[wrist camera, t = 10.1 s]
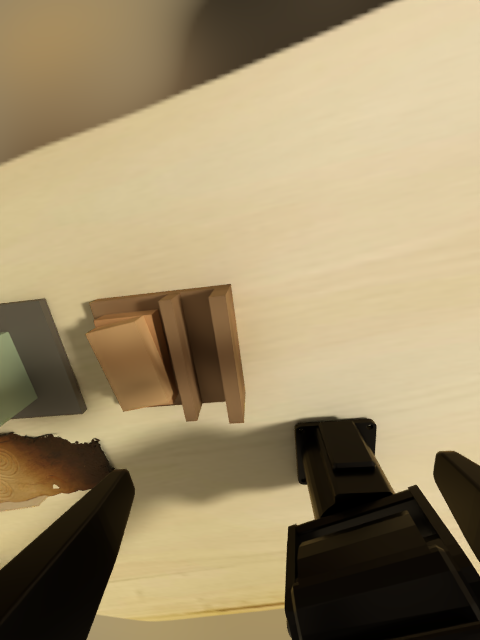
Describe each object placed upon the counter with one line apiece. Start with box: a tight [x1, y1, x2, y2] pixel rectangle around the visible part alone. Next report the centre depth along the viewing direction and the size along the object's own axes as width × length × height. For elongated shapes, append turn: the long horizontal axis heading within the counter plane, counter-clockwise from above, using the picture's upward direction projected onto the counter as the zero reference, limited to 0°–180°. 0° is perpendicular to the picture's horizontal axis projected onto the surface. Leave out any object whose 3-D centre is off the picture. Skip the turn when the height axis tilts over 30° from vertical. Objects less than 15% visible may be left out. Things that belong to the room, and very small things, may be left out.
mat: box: [0, 299, 87, 419], centre depth 20 cm, size 10×8×1 cm
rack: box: [89, 284, 245, 424], centre depth 18 cm, size 9×10×4 cm
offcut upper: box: [85, 316, 174, 412], centre depth 17 cm, size 6×3×1 cm, turn 15°
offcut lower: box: [94, 309, 178, 406], centre depth 18 cm, size 7×4×1 cm, turn 7°
